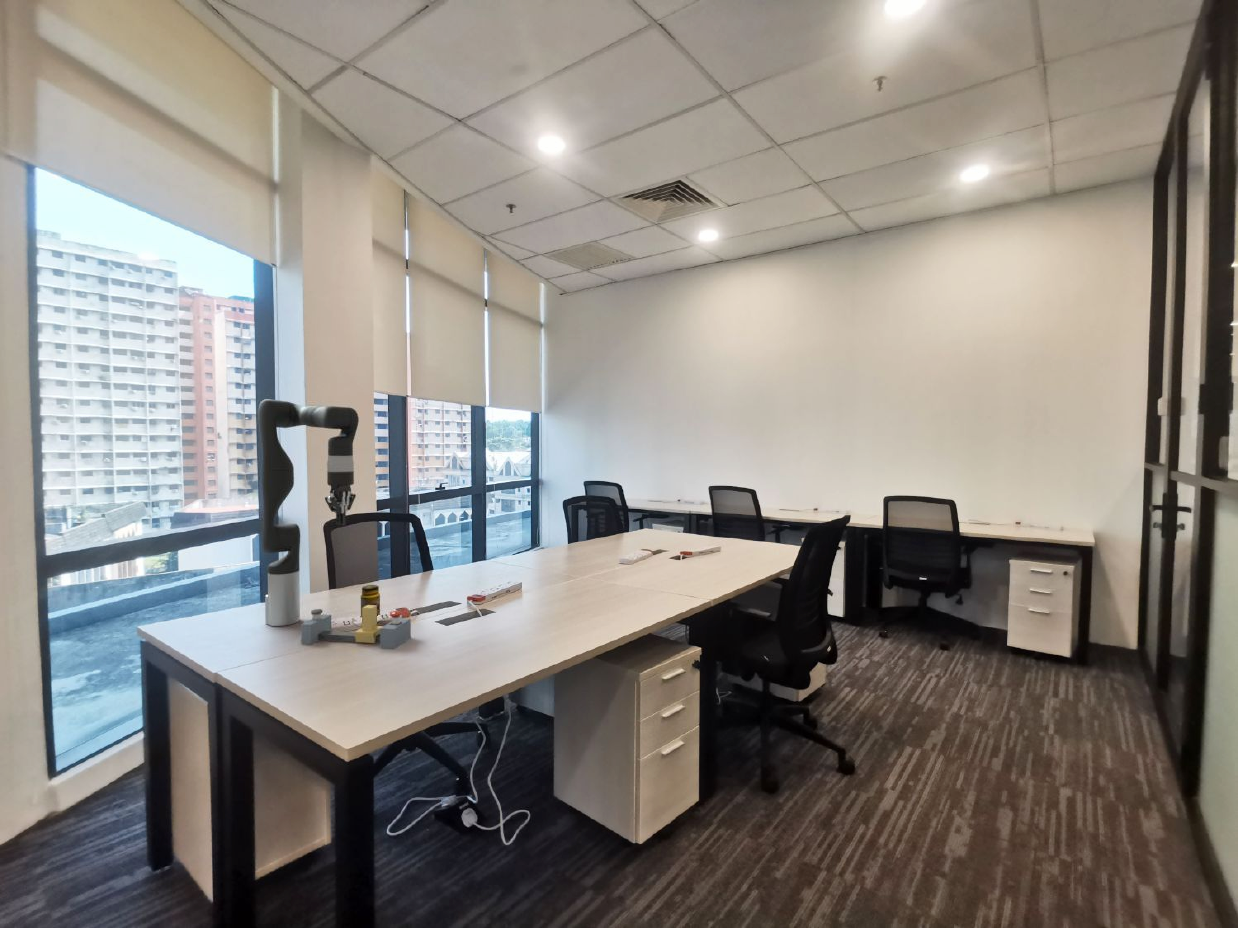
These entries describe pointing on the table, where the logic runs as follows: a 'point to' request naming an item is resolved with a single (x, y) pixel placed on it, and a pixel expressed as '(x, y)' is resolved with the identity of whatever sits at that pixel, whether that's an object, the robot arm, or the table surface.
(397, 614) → the plunger
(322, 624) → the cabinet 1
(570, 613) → the table surface
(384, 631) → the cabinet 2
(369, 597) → the condiment
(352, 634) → the rail
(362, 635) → the carriage
